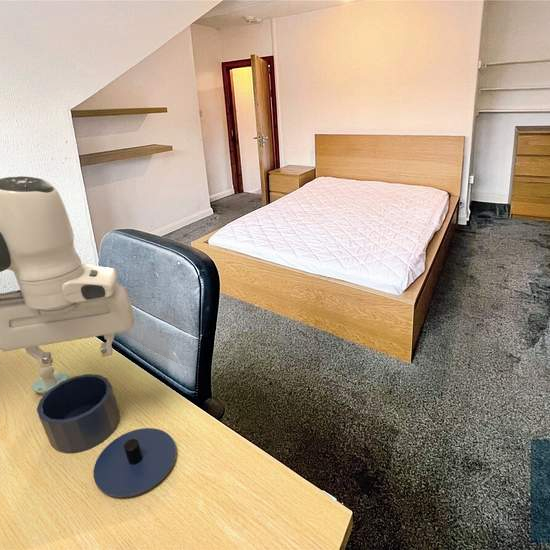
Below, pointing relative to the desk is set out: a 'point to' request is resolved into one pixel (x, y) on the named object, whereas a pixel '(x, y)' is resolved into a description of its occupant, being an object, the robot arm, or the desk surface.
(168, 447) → the lid
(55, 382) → the pacifier
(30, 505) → the desk surface
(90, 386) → the pot
